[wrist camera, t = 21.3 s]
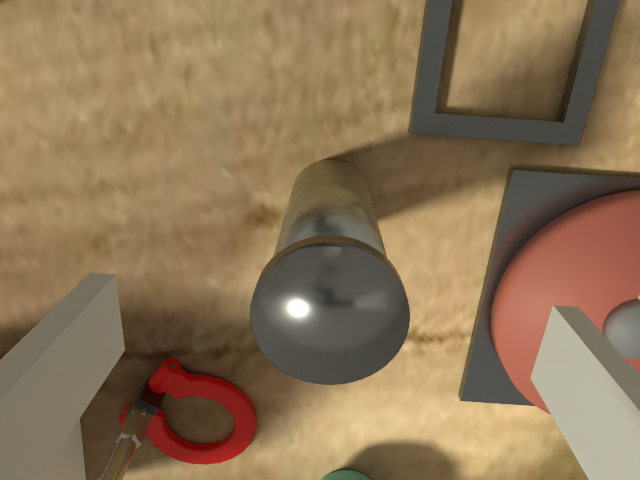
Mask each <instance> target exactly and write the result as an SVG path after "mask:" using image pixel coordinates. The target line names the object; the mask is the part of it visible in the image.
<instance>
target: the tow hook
mask: <svg viewBox="0 0 640 480" xmlns="http://www.w3.org/2000/svg"><path fill="white" fill-rule="evenodd" d="M165 393H167V394H169V395H171V396H173V397H174V398H176V399H181V398H184V397H191V396H199V397H206V398H210V399H213V400H215V401H217V402H219V403H221V404H222V405H224V406H225V407H226V408H227V409H228V410H229V411H230V413H231V414H232V415H233V418H234V421H235V428H234V431H233V432H232V433H231V434H230V435H229V436H228V437H227V438H225V439H224V440H222V441H219V442H216V443H212V444H195V443H191V442H188V441H185V440H183V439H181V438H179V437H178V436H177V435H175V434H174V433H173V432H172V431H171V430H170V429H169V427H168V426H167V423H166V421H165V414H164V412H163V411H162V410H160V409H159V408H160V405H161V403H162V400H163V398H164V396H165ZM119 422H120V424H121V426H122V428H121V430H120V432H119V434H118V436H117V438H116V444H117V446H116V448H115V450H114V452H113V454H112V456H111V458H110V460H109V462H108V464H107V466H106V468H105V471H104V473H103V475H102V477H101V479H100V480H122V479H123V477H124V475H125V472H126V470H127V468H128V465H129V463H130V461H131V458H132V456H133V454H134V451H135V450H137V448H138V447H139V446H140V445H141V443H142V441H143V439H144V436H145V434H146V435H147V437H148V438H149V439H150V441H151V442H152V443H153V444H154V446H155V447H157V448H158V449H159V450H161V451H162V452H163V453H165V454H166V455H168V456H171V457H173V458H175V459H177V460H180V461H184V462H188V463H192V464H214V463H221V462H223V461H226V460H229V459H232V458H234V457H235V456H237V455H239V454H240V453H242V452H243V451H244V450H245V449H246V448H247V446H248V445H249V444H250V443H251V440H252V438H253V436H254V433H255V426H256V415H255V411H254V408H253V405H252V404H251V402H250V401H249V399H248V398H247V396H246V395H245V394H244V393H243V392H242V391H241V390H239V389H238V388H237V387H236V386H234V385H232V384H230V383H228V382H227V381H225V380H223V379H219V378H216V377H212V376H209V375H197V374H189V373H188V372H186V371H184V370H182V367H181V365H180V363H179V362H178V361H177V360H175V359H172V358H169V359H166V360H165V361H164V363H163V364H162V365H161V366H160V368H159V369H158V370H157V371H156V372H155V374H154V375H153V376H152V377H151V378H149V379H148V380H147V381H146V383H145V384H144V385H143V386H142V387H141V389H140V390H139V391H138V392H137V394H136V395H135V396H134V398H133V400H132V402H131V403H130V404H129V405H128V407H127V408H126V409H125V410H124V412H123V413H122V414H121V415H120V417H119Z"/></svg>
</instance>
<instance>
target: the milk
mask: <svg viewBox="0 0 640 480" xmlns="http://www.w3.org/2000/svg"><path fill="white" fill-rule="evenodd" d="M39 480H86V475H85V465H84V455H83V445H82V434H81V424H80V419H79V420H78V422H77V423H76V425H75V426H74V428H73V429H72V431H71V432H70V434H69V435H68V437H67V438H66V440H65V441H64V443H63V444H62V446H61V447H60V449H59V450H58V452H57V453H56V455H55V456H54V458H53V460H52V461H51V463H50V464H49V466H48V467H47V469H46V470H45V472H44V473H43V475H42V476H41V478H40V479H39Z"/></svg>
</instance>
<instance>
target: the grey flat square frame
mask: <svg viewBox="0 0 640 480" xmlns="http://www.w3.org/2000/svg"><path fill="white" fill-rule="evenodd" d="M619 1H620V0H588V3H587V6H586V10H585V14H584V18H583V22H582V26H581V30H580V34H579V38H578V42H577V46H576V50H575V54H574V57H573V61H572V65H571V69H570V73H569V77H568V81H567V85H566V89H565V93H564V97H563V101H562V105H561V108H560V112H559V116H558V120H543V119H528V118H514V117H500V116H486V115H472V114H458V113H444V112H435V109H436V102H437V96H438V90H439V83H440V77H441V70H442V64H443V57H444V51H445V45H446V38H447V32H448V25H449V19H450V13H451V6H452V0H426V4H425V11H424V18H423V26H422V33H421V40H420V48H419V55H418V62H417V70H416V77H415V84H414V92H413V99H412V106H411V114H410V121H409V128H408V132H409V133H410V134H422V135H436V136H450V137H464V138H478V139H492V140H506V141H520V142H534V143H548V144H562V145H576V146H579V145H580V142H581V138H582V134H583V131H584V127H585V124H586V120H587V116H588V113H589V109H590V106H591V102H592V98H593V95H594V91H595V88H596V84H597V81H598V77H599V73H600V70H601V66H602V63H603V59H604V55H605V52H606V48H607V45H608V41H609V37H610V34H611V30H612V27H613V23H614V19H615V16H616V12H617V9H618V5H619Z"/></svg>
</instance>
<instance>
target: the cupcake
mask: <svg viewBox="0 0 640 480" xmlns="http://www.w3.org/2000/svg"><path fill="white" fill-rule="evenodd" d="M322 480H370V479H369V478H368V477H367V476H366V475H364V474H362V473H360V472H357V471H352V470H340V471H335V472H332V473H330V474H328V475H327V476H325V477H324V478H323V479H322Z"/></svg>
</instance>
